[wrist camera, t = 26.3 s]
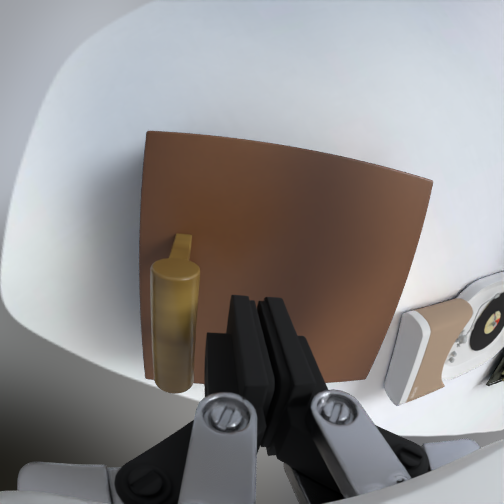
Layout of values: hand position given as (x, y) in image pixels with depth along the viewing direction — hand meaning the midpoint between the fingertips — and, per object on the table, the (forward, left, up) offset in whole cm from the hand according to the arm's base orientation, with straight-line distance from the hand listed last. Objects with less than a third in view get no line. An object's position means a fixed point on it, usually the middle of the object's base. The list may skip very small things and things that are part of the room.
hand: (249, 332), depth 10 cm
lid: (0, +2, -5) cm, 6 cm away
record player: (+6, +25, -9) cm, 27 cm away
